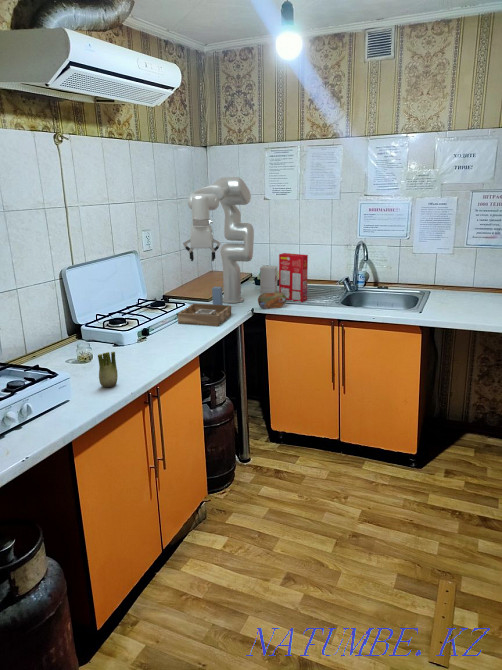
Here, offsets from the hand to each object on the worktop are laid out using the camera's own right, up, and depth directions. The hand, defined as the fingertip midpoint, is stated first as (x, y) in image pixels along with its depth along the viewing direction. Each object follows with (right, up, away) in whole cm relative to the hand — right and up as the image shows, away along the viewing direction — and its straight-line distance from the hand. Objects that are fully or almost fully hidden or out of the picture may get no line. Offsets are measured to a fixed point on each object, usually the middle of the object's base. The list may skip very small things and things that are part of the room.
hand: (202, 260), depth 240 cm
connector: (+5, -22, +28) cm, 35 cm away
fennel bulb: (-25, -52, -66) cm, 88 cm away
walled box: (0, -27, +11) cm, 29 cm away
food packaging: (+46, -15, +47) cm, 67 cm away
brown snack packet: (+33, -20, +31) cm, 50 cm away
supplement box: (+33, -9, +68) cm, 76 cm away
